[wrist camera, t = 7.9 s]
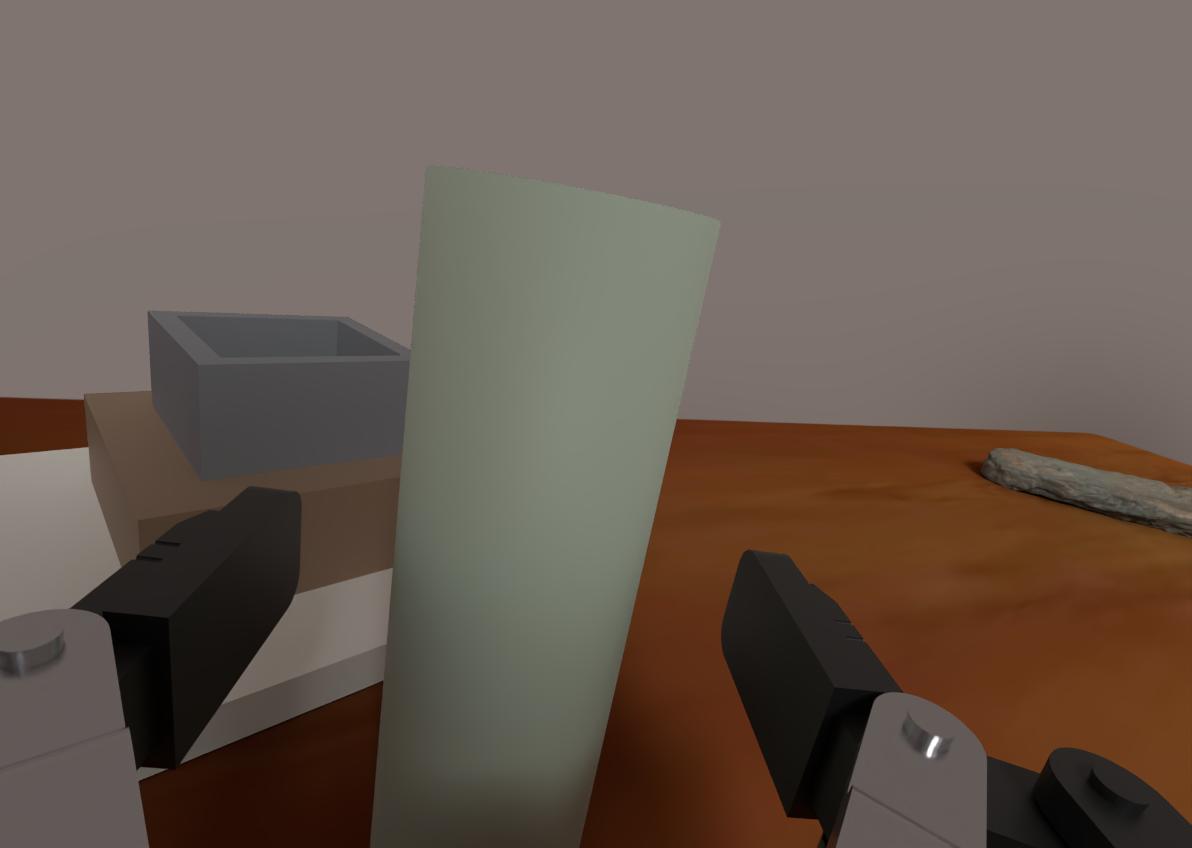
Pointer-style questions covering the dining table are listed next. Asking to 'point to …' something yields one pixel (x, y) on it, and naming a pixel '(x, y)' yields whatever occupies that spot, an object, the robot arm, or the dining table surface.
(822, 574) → the dining table surface
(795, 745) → the robot arm
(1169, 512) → the elongated rock
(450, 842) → the green dowel
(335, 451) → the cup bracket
